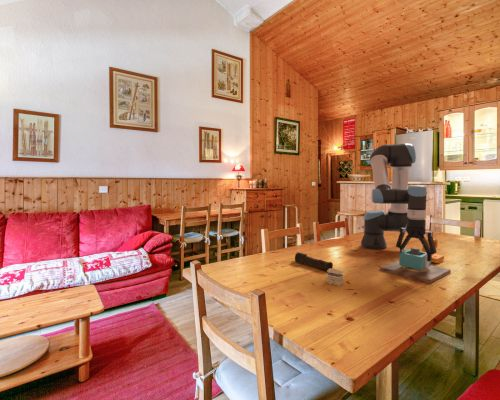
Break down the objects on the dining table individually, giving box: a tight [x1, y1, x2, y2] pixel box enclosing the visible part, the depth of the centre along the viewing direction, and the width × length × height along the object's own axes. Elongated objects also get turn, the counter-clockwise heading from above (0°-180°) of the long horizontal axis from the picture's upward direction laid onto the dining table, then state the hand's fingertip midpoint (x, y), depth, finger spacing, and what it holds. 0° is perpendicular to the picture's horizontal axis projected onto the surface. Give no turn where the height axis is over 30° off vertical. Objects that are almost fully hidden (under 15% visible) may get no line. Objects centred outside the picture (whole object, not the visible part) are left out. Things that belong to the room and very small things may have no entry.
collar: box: [398, 248, 432, 270], centre depth 133 cm, size 10×10×6 cm
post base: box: [379, 247, 452, 284], centre depth 133 cm, size 22×22×11 cm
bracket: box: [421, 237, 445, 264], centre depth 149 cm, size 11×7×12 cm, turn 126°
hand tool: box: [294, 252, 334, 272], centre depth 144 cm, size 23×5×6 cm, turn 37°
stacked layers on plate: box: [326, 267, 345, 287], centre depth 120 cm, size 10×9×6 cm
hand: (414, 264), depth 133 cm, fingers closed on collar, 10 cm apart
